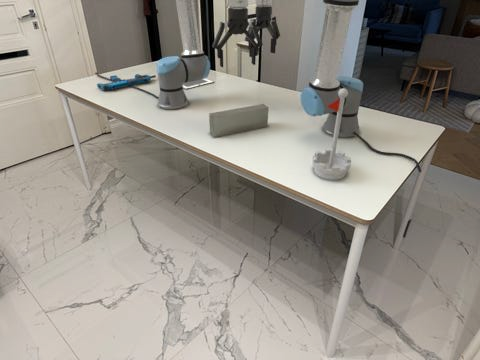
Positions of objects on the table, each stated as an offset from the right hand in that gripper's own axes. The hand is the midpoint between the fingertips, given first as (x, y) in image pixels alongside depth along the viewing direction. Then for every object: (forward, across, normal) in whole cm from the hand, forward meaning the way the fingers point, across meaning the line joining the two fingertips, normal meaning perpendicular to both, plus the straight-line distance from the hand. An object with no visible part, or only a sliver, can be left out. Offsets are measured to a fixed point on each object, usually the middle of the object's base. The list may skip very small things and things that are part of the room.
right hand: (262, 54), depth 164 cm
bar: (+25, +29, +18) cm, 42 cm away
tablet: (+24, +9, -62) cm, 67 cm away
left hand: (-2, +27, +15) cm, 31 cm away
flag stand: (+25, +26, +66) cm, 75 cm away
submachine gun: (+24, +41, -79) cm, 92 cm away
